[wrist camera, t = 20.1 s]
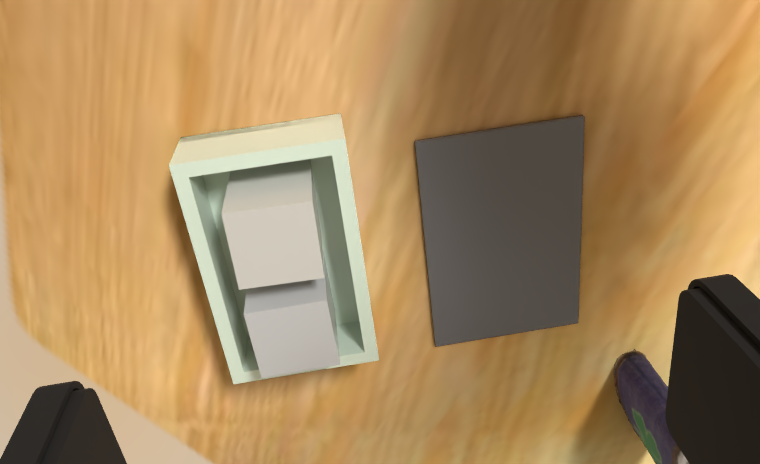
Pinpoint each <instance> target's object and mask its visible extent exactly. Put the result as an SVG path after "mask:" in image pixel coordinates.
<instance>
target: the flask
mask: <svg viewBox="0 0 760 464" xmlns="http://www.w3.org/2000/svg"><path fill="white" fill-rule="evenodd" d="M614 375H615V376H614V377H615V386H616V391H617V395H618V397H619V401H620V403H621V405H622V406H623V409H624V411H625V413H626V415H627V417H628V420H629V421H630V423H631V424H632V426H633V428H634V430H635V432H636V433H637V435H638V436H639V437H640V439H641V440H642V442H643V443H644V445H645V447H646V448H647V450H648V452H649V453H650V455H651V457H652V458H653V460H654V462H655V463H656V464H689V462H688V461H687V459H686V458H685V456H684V455H683V453H682V452H681V450H680V449H679V447H678V446H677V444H676V443H675V441H674V439H673V438H672V436H671V434H670V432H669V430H668V427H667V424H666V418H665V410H666V402H667V394H668V386H666V384H665V383H664V382H663V380H662V379H661V377H660V376H659V375H658V374H657V372H656V371H655V370H654V368H653V367H652V365H651V364H650V362H649V361H648V360H647V359H646V356H645V355H644V354H643V353H640V352H638V351H636V350H635V349H634V350H633V351H631V352H627V353H625V354H622V355H621V356H620V357H619V358H618V359H617V361H616V364H615V369H614Z"/></svg>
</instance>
